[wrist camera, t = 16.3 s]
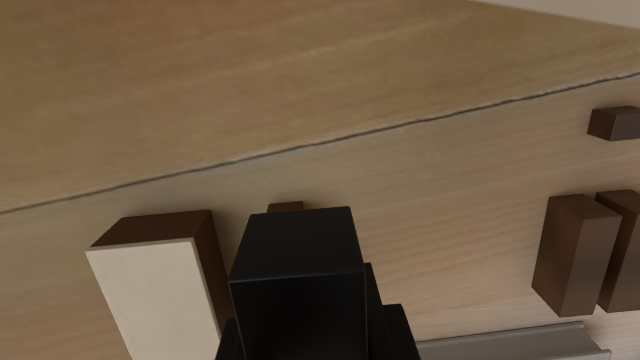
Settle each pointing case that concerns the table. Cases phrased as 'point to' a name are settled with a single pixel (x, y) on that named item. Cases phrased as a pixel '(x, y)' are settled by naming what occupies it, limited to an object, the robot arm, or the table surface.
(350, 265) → the cake knife
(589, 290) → the brown twin bars
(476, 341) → the book
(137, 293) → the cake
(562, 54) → the table surface
